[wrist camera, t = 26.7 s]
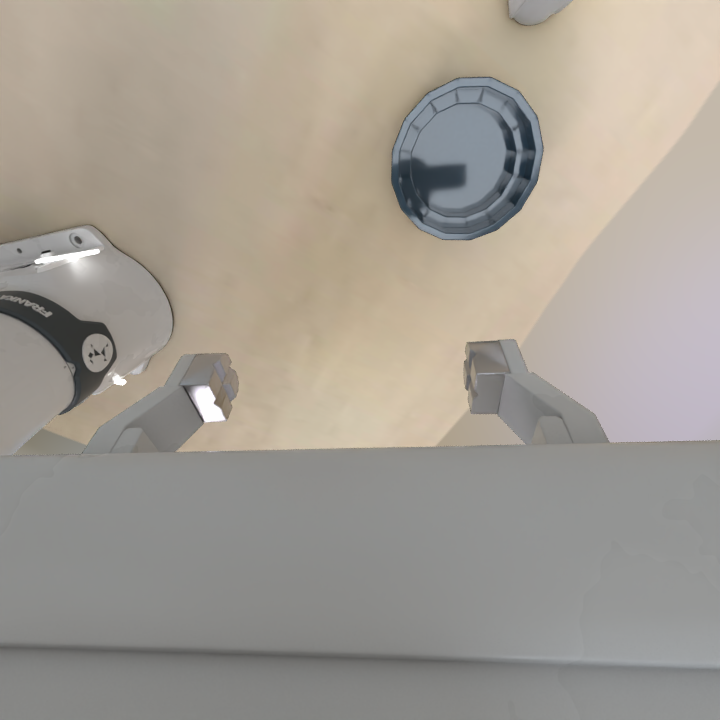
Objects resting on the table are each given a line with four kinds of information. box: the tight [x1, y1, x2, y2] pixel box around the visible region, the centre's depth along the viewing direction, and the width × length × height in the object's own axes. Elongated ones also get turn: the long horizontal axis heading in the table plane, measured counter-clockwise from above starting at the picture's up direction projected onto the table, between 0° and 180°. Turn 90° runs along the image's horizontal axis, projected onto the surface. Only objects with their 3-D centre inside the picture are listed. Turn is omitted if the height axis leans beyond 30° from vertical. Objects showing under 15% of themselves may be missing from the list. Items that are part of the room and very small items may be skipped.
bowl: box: [391, 77, 544, 240], centre depth 34 cm, size 12×12×5 cm
